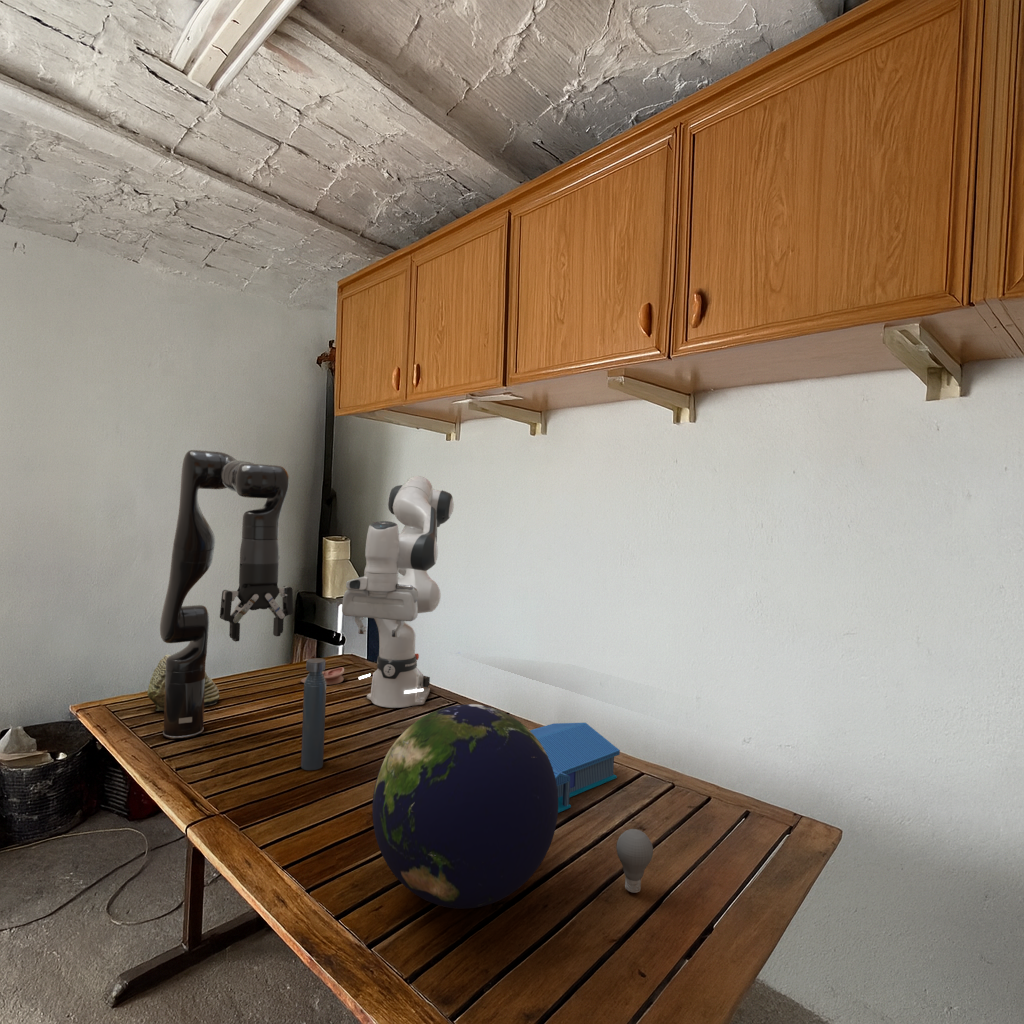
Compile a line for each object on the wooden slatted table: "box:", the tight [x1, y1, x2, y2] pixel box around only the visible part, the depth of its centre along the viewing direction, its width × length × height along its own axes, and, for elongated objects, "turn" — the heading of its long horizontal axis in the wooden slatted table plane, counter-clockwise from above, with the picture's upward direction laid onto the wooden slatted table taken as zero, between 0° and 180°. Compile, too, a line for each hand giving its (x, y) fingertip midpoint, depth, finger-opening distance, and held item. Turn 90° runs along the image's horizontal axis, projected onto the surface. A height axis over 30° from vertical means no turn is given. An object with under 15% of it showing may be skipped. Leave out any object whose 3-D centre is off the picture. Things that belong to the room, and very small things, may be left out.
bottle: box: [300, 671, 327, 771], centre depth 148 cm, size 5×5×24 cm
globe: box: [371, 703, 559, 910], centre depth 103 cm, size 30×30×30 cm
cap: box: [305, 657, 327, 673], centre depth 148 cm, size 4×4×2 cm
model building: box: [529, 722, 621, 814], centre depth 143 cm, size 39×24×10 cm, turn 132°
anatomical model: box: [300, 666, 345, 686], centre depth 215 cm, size 13×4×12 cm
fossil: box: [147, 654, 221, 712], centre depth 185 cm, size 9×18×15 cm, turn 132°
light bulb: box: [615, 828, 654, 894], centre depth 106 cm, size 6×6×10 cm
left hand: (256, 638), depth 132 cm, fingers open, 8 cm apart
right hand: (378, 635), depth 167 cm, fingers open, 8 cm apart
